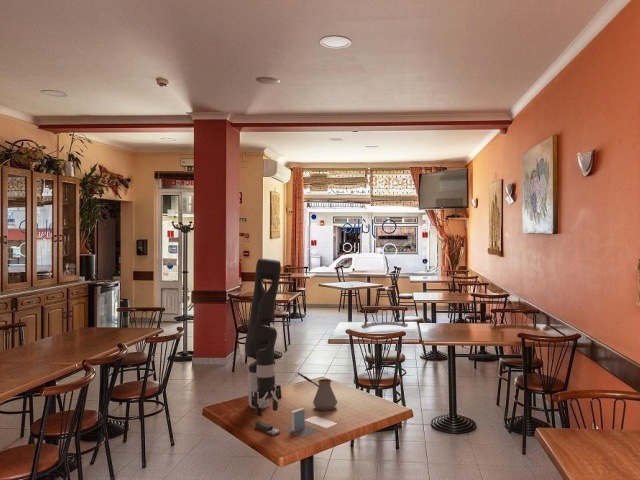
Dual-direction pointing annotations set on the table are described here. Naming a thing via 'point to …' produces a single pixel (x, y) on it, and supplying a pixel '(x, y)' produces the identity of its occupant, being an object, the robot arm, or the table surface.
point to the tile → (298, 419)
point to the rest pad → (320, 421)
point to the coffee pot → (323, 394)
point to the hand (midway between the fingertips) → (267, 413)
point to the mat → (302, 431)
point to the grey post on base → (266, 428)
